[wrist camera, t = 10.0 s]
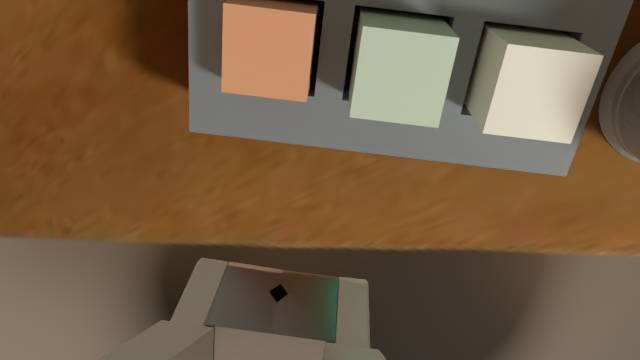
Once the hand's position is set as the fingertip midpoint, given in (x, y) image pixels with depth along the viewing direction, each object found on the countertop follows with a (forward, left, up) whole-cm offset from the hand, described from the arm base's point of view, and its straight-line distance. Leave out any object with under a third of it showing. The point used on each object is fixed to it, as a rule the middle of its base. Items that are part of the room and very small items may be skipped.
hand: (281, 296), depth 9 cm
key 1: (+2, 0, -21) cm, 22 cm away
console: (-4, 0, -22) cm, 23 cm away
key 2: (-10, 0, -20) cm, 22 cm away
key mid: (-4, 0, -20) cm, 21 cm away
